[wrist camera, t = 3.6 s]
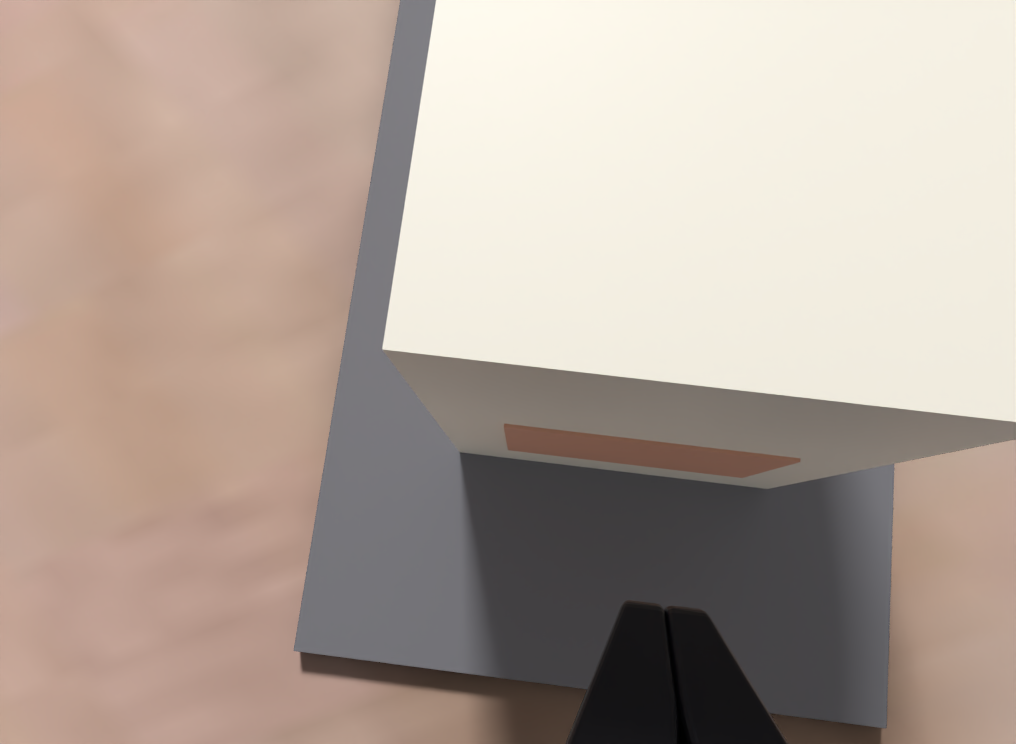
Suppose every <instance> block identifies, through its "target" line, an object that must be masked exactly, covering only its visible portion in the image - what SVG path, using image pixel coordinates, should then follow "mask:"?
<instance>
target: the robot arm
mask: <svg viewBox="0 0 1016 744" xmlns="http://www.w3.org/2000/svg"><path fill="white" fill-rule="evenodd" d="M566 744H788V742H787V741H786V739H785V738H784V736H783V734H782V733H781V731H780V729H779V728H778V726H777V725H776V723H775V721H774V720H773V718H772V716H771V715H770V713H769V712H768V710H767V708H766V707H765V705H764V703H763V702H762V700H761V699H760V697H759V695H758V694H757V692H756V690H755V689H754V687H753V685H752V684H751V682H750V681H749V679H748V677H747V676H746V674H745V672H744V671H743V669H742V668H741V666H740V664H739V663H738V661H737V659H736V658H735V656H734V655H733V653H732V651H731V650H730V648H729V646H728V645H727V643H726V641H725V640H724V638H723V637H722V635H721V633H720V632H719V630H718V628H717V627H716V625H715V624H714V622H713V620H712V619H711V617H710V616H709V614H708V613H706V612H705V611H704V610H701V609H697V608H689V607H681V606H673V605H672V606H668V607H666V608H665V609H663V607H662V606H661V605H659V604H656V603H649V602H641V601H633V600H627V601H625V602H624V603H623V604H622V605H621V608H620V610H619V612H618V615H617V617H616V620H615V622H614V625H613V627H612V630H611V632H610V635H609V637H608V639H607V642H606V644H605V647H604V649H603V652H602V654H601V657H600V659H599V662H598V664H597V667H596V669H595V672H594V674H593V677H592V679H591V682H590V684H589V687H588V689H587V691H586V694H585V696H584V699H583V701H582V704H581V706H580V709H579V711H578V714H577V716H576V719H575V721H574V724H573V726H572V729H571V731H570V734H569V736H568V739H567V741H566Z"/></svg>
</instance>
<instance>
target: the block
mask: <svg viewBox="0 0 1016 744" xmlns="http://www.w3.org/2000/svg"><path fill="white" fill-rule="evenodd" d="M382 350H383V351H384V352H385V354H386V355H387V356H388V358H389V359H390V360H391V362H392V363H393V364H394V366H395V367H396V368H397V370H398V371H399V372H400V374H401V375H402V376H403V378H404V379H405V380H406V382H407V383H408V384H409V386H410V387H411V388H412V390H413V391H414V392H415V394H416V395H417V396H418V398H419V399H420V400H421V402H422V403H423V404H424V406H425V407H426V408H427V410H428V411H429V412H430V414H431V415H432V416H433V418H434V419H435V420H436V422H437V423H438V424H439V426H440V427H441V428H442V430H443V431H444V432H445V433H446V435H447V436H448V437H449V439H450V440H451V441H452V443H453V444H454V445H455V447H456V448H457V449H458V451H459V452H462V453H470V454H479V455H487V456H495V457H504V458H512V459H520V460H529V461H537V462H546V463H554V464H562V465H571V466H579V467H587V468H596V469H604V470H613V471H621V472H629V473H638V474H646V475H654V476H663V477H671V478H680V479H688V480H696V481H705V482H713V483H721V484H730V485H738V486H747V487H755V488H763V489H770V488H775V487H780V486H785V485H790V484H795V483H800V482H805V481H810V480H815V479H820V478H825V477H830V476H835V475H840V474H845V473H850V472H855V471H860V470H865V469H870V468H875V467H880V466H885V465H890V464H895V463H900V462H905V461H910V460H915V459H920V458H925V457H930V456H935V455H940V454H945V453H950V452H955V451H959V450H964V449H969V448H974V447H979V446H984V445H989V444H994V443H999V442H1004V441H1009V440H1014V439H1016V0H436V4H435V11H434V17H433V24H432V30H431V37H430V43H429V50H428V56H427V63H426V69H425V76H424V82H423V89H422V95H421V101H420V108H419V114H418V121H417V127H416V134H415V140H414V147H413V153H412V160H411V166H410V173H409V179H408V186H407V192H406V199H405V205H404V211H403V218H402V224H401V231H400V237H399V244H398V250H397V257H396V263H395V270H394V276H393V283H392V289H391V296H390V302H389V309H388V315H387V321H386V328H385V334H384V341H383V347H382Z"/></svg>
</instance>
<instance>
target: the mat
mask: <svg viewBox="0 0 1016 744" xmlns="http://www.w3.org/2000/svg"><path fill="white" fill-rule="evenodd" d="M435 4H436V0H400V5H399V12H398V18H397V24H396V30H395V36H394V42H393V48H392V54H391V60H390V66H389V72H388V79H387V85H386V91H385V97H384V103H383V109H382V115H381V121H380V127H379V133H378V140H377V146H376V152H375V158H374V164H373V170H372V176H371V182H370V188H369V194H368V201H367V207H366V213H365V219H364V225H363V231H362V237H361V243H360V249H359V255H358V261H357V268H356V274H355V280H354V286H353V292H352V298H351V304H350V310H349V316H348V322H347V329H346V335H345V341H344V347H343V353H342V359H341V365H340V371H339V377H338V383H337V390H336V396H335V402H334V408H333V414H332V420H331V426H330V432H329V438H328V444H327V450H326V457H325V463H324V469H323V475H322V481H321V487H320V493H319V499H318V505H317V511H316V518H315V524H314V530H313V536H312V542H311V548H310V554H309V560H308V566H307V572H306V579H305V585H304V591H303V597H302V603H301V609H300V615H299V621H298V627H297V633H296V640H295V646H294V651H298V652H306V653H313V654H321V655H329V656H336V657H344V658H352V659H359V660H367V661H375V662H382V663H390V664H397V665H405V666H413V667H420V668H428V669H436V670H443V671H451V672H459V673H466V674H474V675H482V676H489V677H497V678H505V679H512V680H520V681H527V682H535V683H543V684H550V685H558V686H566V687H573V688H581V689H588V687H589V684H590V682H591V679H592V677H593V674H594V672H595V669H596V667H597V664H598V662H599V659H600V657H601V654H602V652H603V649H604V647H605V644H606V642H607V639H608V637H609V635H610V632H611V630H612V627H613V625H614V622H615V620H616V617H617V615H618V612H619V610H620V608H621V605H622V604H623V603H624V602H625V601H627V600H633V601H641V602H649V603H656V604H659V605H661V606H662V607H663V609H665V608H666V607H668V606H672V605H673V606H681V607H689V608H697V609H701V610H704V611H705V612H706V613H708V614H709V616H710V617H711V619H712V620H713V622H714V624H715V625H716V627H717V628H718V630H719V632H720V633H721V635H722V637H723V638H724V640H725V641H726V643H727V645H728V646H729V648H730V650H731V651H732V653H733V655H734V656H735V658H736V659H737V661H738V663H739V664H740V666H741V668H742V669H743V671H744V672H745V674H746V676H747V677H748V679H749V681H750V682H751V684H752V685H753V687H754V689H755V690H756V692H757V694H758V695H759V697H760V699H761V700H762V702H763V703H764V705H765V707H766V708H767V710H768V712H769V713H772V714H780V715H787V716H795V717H803V718H810V719H818V720H826V721H833V722H841V723H849V724H856V725H864V726H872V727H879V728H886V726H887V692H888V658H889V625H890V591H891V557H892V524H893V490H894V464H890V465H885V466H880V467H875V468H870V469H865V470H860V471H855V472H850V473H845V474H840V475H835V476H830V477H825V478H820V479H815V480H810V481H805V482H800V483H795V484H790V485H785V486H780V487H775V488H770V489H763V488H755V487H747V486H738V485H730V484H721V483H713V482H705V481H696V480H688V479H680V478H671V477H663V476H654V475H646V474H638V473H629V472H621V471H613V470H604V469H596V468H587V467H579V466H571V465H562V464H554V463H546V462H537V461H529V460H520V459H512V458H504V457H495V456H487V455H479V454H470V453H462V452H459V451H458V449H457V448H456V447H455V445H454V444H453V443H452V441H451V440H450V439H449V437H448V436H447V435H446V433H445V432H444V431H443V430H442V428H441V427H440V426H439V424H438V423H437V422H436V420H435V419H434V418H433V416H432V415H431V414H430V412H429V411H428V410H427V408H426V407H425V406H424V404H423V403H422V402H421V400H420V399H419V398H418V396H417V395H416V394H415V392H414V391H413V390H412V388H411V387H410V386H409V384H408V383H407V382H406V380H405V379H404V378H403V376H402V375H401V374H400V372H399V371H398V370H397V368H396V367H395V366H394V364H393V363H392V362H391V360H390V359H389V358H388V356H387V355H386V354H385V352H384V351H383V350H382V347H383V341H384V334H385V328H386V321H387V315H388V309H389V302H390V296H391V289H392V283H393V276H394V270H395V263H396V257H397V250H398V244H399V237H400V231H401V224H402V218H403V211H404V205H405V199H406V192H407V186H408V179H409V173H410V166H411V160H412V153H413V147H414V140H415V134H416V127H417V121H418V114H419V108H420V101H421V95H422V89H423V82H424V76H425V69H426V63H427V56H428V50H429V43H430V37H431V30H432V24H433V17H434V11H435Z"/></svg>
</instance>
